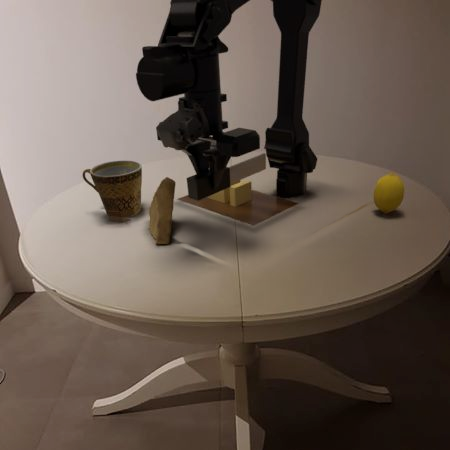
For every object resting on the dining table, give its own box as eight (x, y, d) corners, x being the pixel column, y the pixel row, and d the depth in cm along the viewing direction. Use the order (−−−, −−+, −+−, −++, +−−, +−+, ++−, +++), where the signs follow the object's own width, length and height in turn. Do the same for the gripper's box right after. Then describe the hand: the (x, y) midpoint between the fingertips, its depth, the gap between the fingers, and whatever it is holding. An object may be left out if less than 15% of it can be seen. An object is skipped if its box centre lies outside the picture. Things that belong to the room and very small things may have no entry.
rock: (179, 237, 81) (200, 208, 88) (145, 199, 78) (169, 173, 85) (143, 261, 88) (165, 233, 95) (110, 228, 85) (135, 201, 92)
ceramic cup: (156, 208, 99) (150, 161, 94) (134, 228, 91) (125, 177, 86) (103, 203, 103) (94, 158, 98) (77, 222, 95) (66, 173, 90)
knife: (198, 201, 78) (196, 180, 76) (188, 197, 80) (186, 177, 78) (269, 170, 89) (269, 151, 87) (260, 167, 91) (260, 149, 89)
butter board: (222, 185, 109) (222, 181, 109) (298, 207, 96) (299, 203, 95) (177, 203, 101) (176, 199, 101) (253, 230, 88) (253, 225, 87)
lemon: (367, 209, 94) (372, 169, 89) (394, 207, 94) (400, 167, 89) (376, 220, 89) (382, 179, 85) (405, 217, 89) (412, 176, 85)
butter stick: (214, 188, 105) (213, 171, 103) (241, 196, 100) (240, 178, 98) (198, 195, 102) (197, 177, 100) (224, 203, 97) (223, 184, 95)
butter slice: (246, 198, 99) (246, 179, 97) (251, 199, 98) (251, 181, 96) (230, 205, 96) (229, 186, 94) (235, 207, 95) (234, 188, 93)
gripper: (123, 93, 73) (139, 189, 82) (207, 105, 62) (215, 215, 70) (177, 81, 79) (186, 171, 88) (261, 90, 68) (262, 192, 77)
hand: (209, 186), depth 81 cm, fingers closed on knife, 2 cm apart
